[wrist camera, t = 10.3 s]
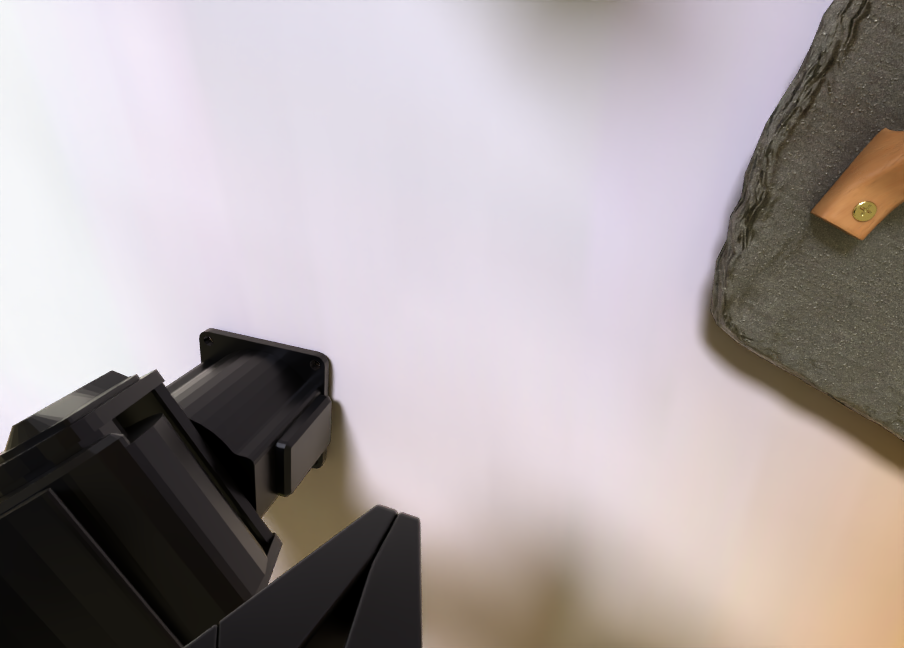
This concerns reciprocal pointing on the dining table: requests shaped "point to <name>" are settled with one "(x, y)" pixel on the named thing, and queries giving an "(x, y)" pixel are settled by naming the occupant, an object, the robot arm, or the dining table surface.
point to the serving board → (828, 220)
